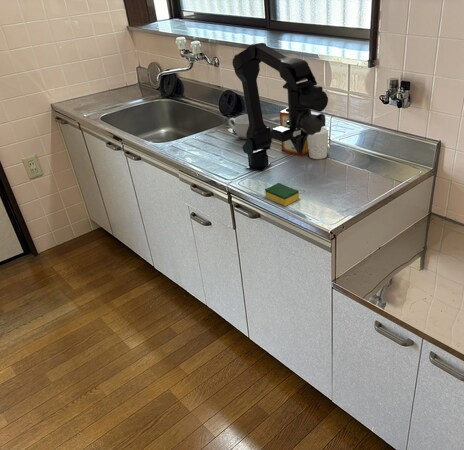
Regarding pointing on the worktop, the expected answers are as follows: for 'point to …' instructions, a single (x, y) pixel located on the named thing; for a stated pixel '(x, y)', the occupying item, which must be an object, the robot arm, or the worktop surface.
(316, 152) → the white cup
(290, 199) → the sponge
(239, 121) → the teacup
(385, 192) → the worktop surface
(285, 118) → the baking soda box
